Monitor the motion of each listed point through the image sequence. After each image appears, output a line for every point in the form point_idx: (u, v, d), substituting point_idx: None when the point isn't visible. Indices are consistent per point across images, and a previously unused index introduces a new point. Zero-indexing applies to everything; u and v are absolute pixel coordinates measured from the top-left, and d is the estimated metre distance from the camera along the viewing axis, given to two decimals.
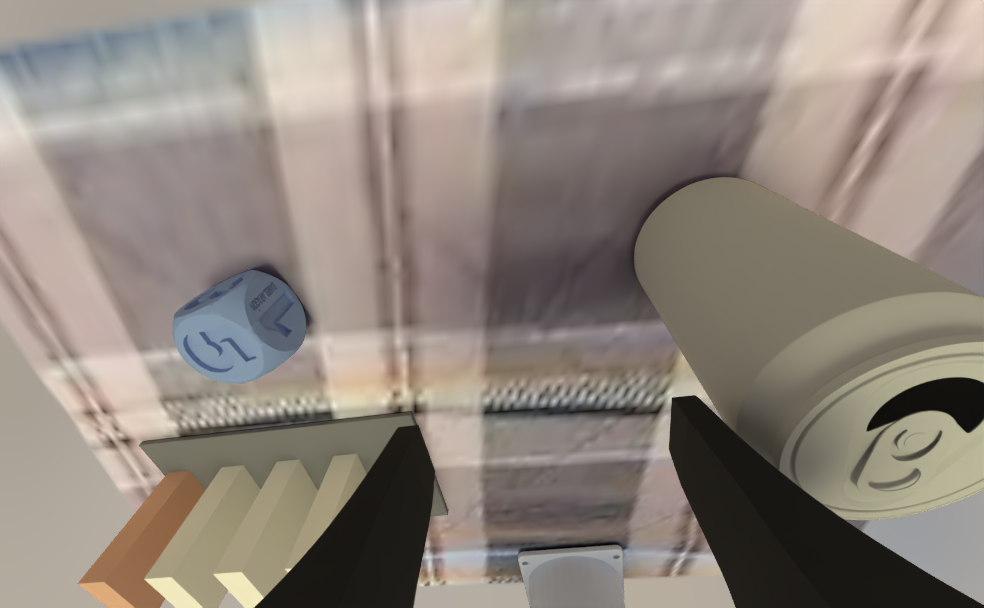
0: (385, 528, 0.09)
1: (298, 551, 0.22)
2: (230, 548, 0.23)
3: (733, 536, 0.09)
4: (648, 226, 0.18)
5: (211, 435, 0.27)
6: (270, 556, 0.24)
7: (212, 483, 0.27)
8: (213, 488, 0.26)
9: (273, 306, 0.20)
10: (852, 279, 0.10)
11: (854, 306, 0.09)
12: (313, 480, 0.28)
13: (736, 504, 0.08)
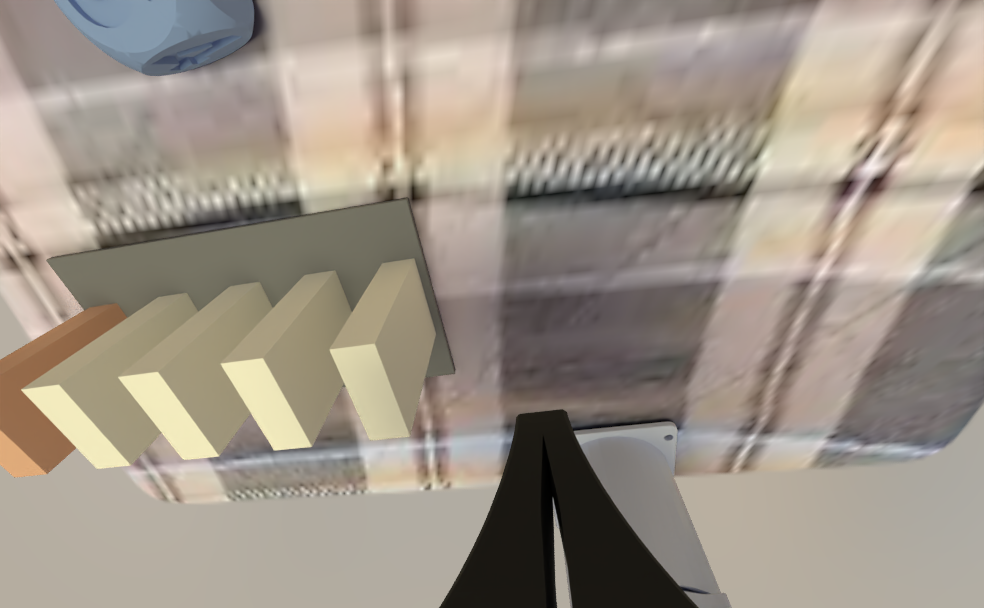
0: (543, 516, 0.09)
1: (242, 347, 0.15)
2: (149, 354, 0.16)
3: None
4: None
5: (141, 243, 0.20)
6: (210, 376, 0.17)
7: (142, 309, 0.20)
8: (142, 312, 0.20)
9: None
10: None
11: None
12: None
13: (561, 518, 0.09)
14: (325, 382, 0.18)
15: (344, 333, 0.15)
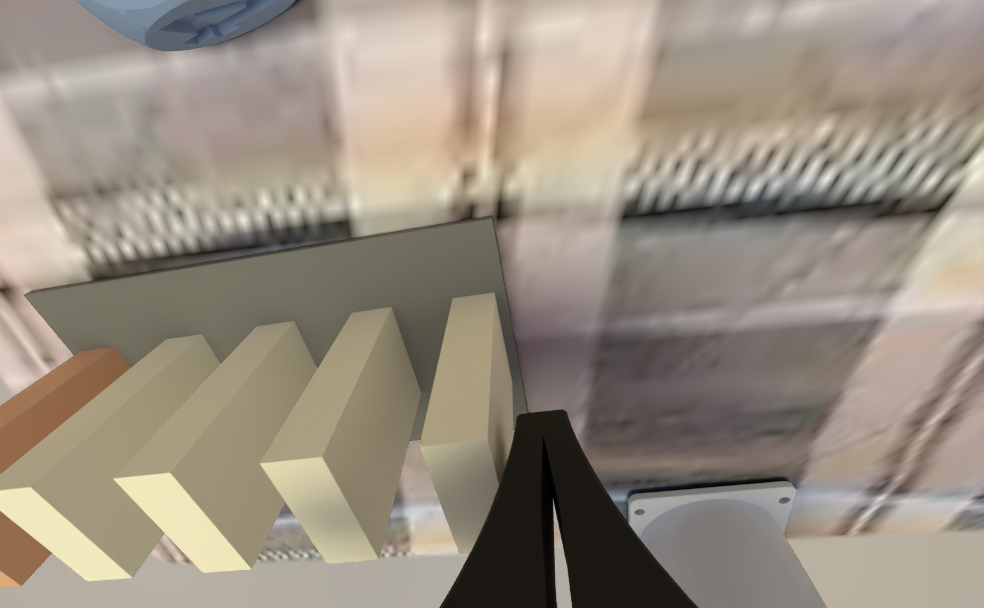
0: (543, 516, 0.09)
1: (289, 434, 0.11)
2: (156, 437, 0.12)
3: None
4: None
5: (144, 274, 0.16)
6: (238, 461, 0.12)
7: (146, 357, 0.16)
8: (147, 363, 0.15)
9: None
10: None
11: None
12: (317, 364, 0.17)
13: None
14: (388, 461, 0.14)
15: (434, 415, 0.10)
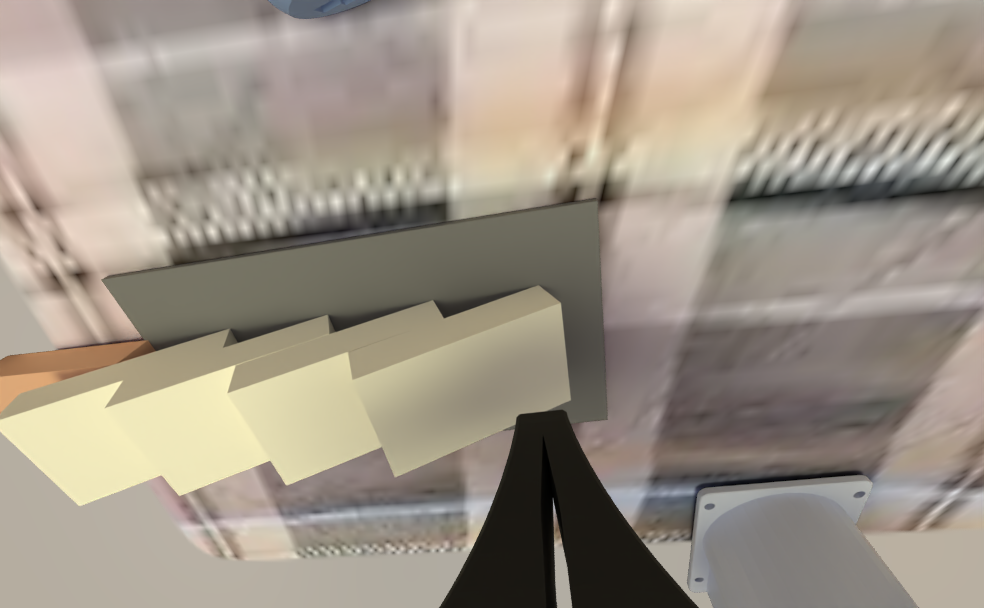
0: (543, 516, 0.09)
1: (260, 361, 0.14)
2: (164, 369, 0.15)
3: None
4: None
5: (228, 258, 0.15)
6: (188, 424, 0.14)
7: (194, 341, 0.16)
8: (180, 349, 0.16)
9: None
10: None
11: None
12: None
13: (561, 518, 0.09)
14: (346, 436, 0.15)
15: (377, 345, 0.14)
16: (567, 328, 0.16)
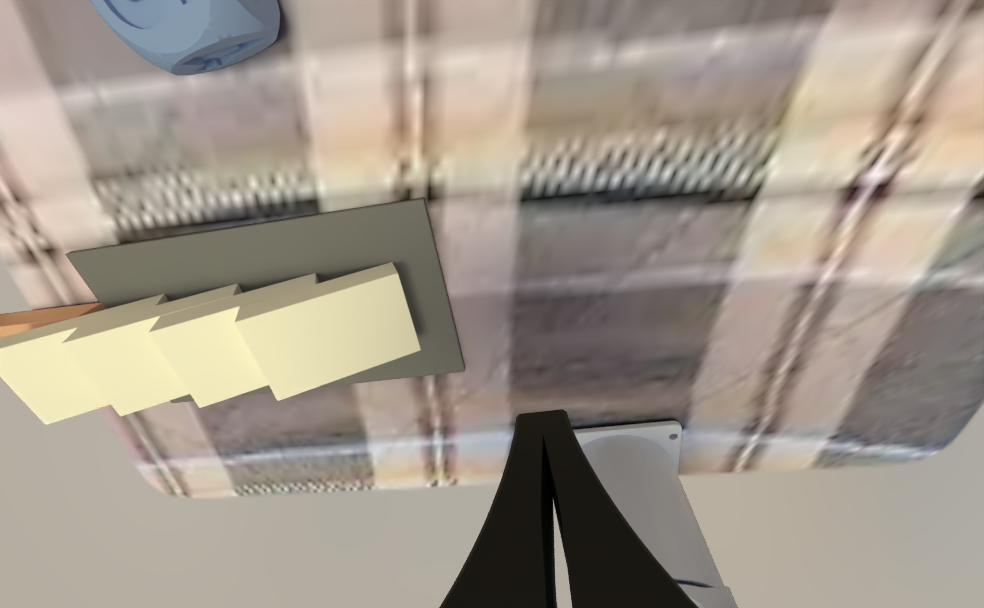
0: (543, 516, 0.09)
1: (178, 313, 0.19)
2: (109, 319, 0.20)
3: None
4: None
5: (159, 239, 0.20)
6: (125, 360, 0.19)
7: (136, 302, 0.21)
8: (124, 307, 0.21)
9: None
10: None
11: None
12: None
13: (561, 518, 0.09)
14: (244, 371, 0.20)
15: (261, 302, 0.19)
16: (419, 296, 0.21)
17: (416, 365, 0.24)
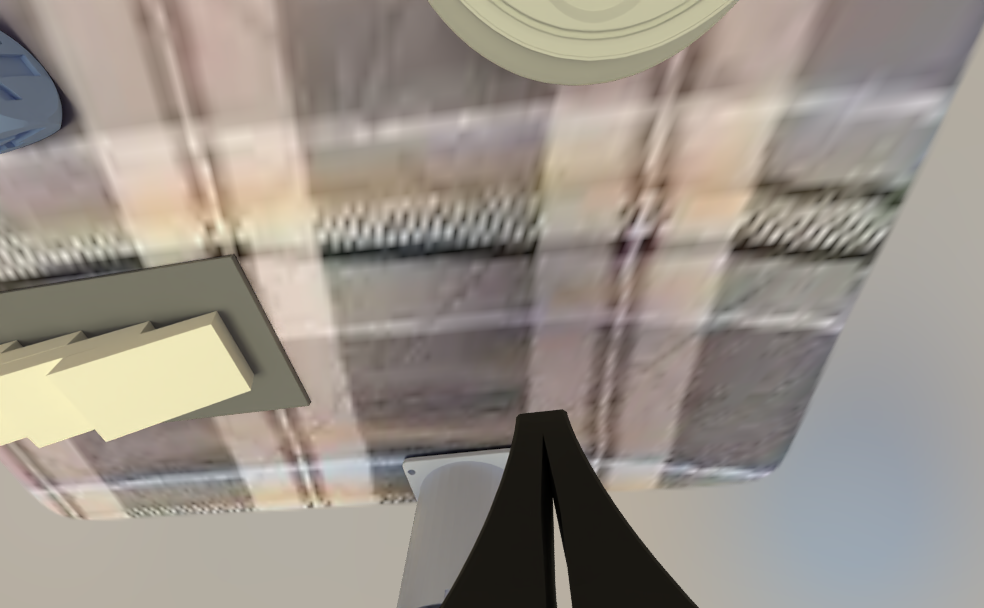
0: (543, 515, 0.09)
1: (10, 363, 0.21)
2: None
3: None
4: None
5: (2, 292, 0.22)
6: None
7: None
8: None
9: None
10: None
11: None
12: None
13: (561, 518, 0.09)
14: (80, 414, 0.22)
15: (83, 353, 0.20)
16: (249, 340, 0.23)
17: (263, 400, 0.25)
